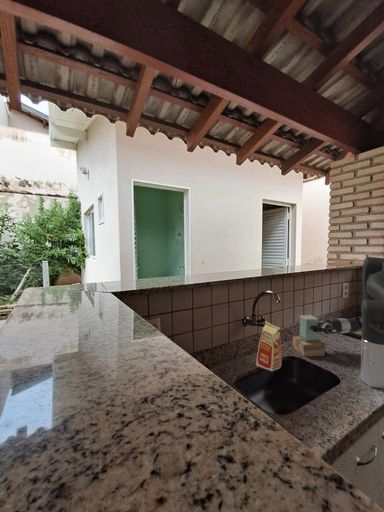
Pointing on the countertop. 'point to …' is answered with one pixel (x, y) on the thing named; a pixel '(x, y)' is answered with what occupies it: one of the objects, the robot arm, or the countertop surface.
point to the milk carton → (269, 348)
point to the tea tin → (308, 328)
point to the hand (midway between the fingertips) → (308, 326)
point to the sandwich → (308, 347)
